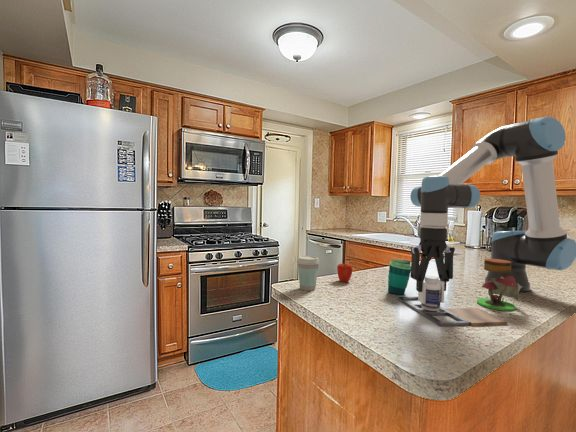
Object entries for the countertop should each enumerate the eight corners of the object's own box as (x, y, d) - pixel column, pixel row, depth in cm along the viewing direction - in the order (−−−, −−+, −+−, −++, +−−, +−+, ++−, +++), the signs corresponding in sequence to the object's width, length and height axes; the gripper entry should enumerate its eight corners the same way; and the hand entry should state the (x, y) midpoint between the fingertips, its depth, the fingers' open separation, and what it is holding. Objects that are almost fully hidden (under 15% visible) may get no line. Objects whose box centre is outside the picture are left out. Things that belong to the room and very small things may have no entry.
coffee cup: (318, 292, 110) (319, 260, 109) (294, 291, 111) (295, 258, 111) (319, 286, 118) (320, 256, 118) (297, 285, 120) (298, 255, 119)
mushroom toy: (505, 314, 92) (508, 265, 91) (467, 301, 103) (469, 258, 103) (529, 310, 96) (532, 263, 96) (490, 298, 108) (492, 256, 107)
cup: (388, 288, 117) (389, 258, 117) (410, 291, 114) (412, 260, 114) (387, 294, 109) (388, 261, 109) (411, 297, 107) (412, 263, 106)
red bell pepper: (352, 280, 129) (353, 262, 129) (351, 283, 123) (351, 265, 123) (337, 278, 131) (338, 261, 131) (335, 282, 125) (336, 264, 125)
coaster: (477, 310, 95) (477, 307, 95) (507, 324, 84) (507, 321, 84) (445, 311, 93) (445, 308, 93) (471, 325, 82) (471, 322, 82)
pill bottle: (442, 312, 90) (443, 279, 90) (423, 310, 91) (424, 278, 91) (437, 306, 96) (438, 275, 95) (419, 304, 97) (420, 274, 96)
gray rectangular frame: (421, 298, 106) (421, 296, 105) (470, 325, 83) (470, 322, 83) (397, 299, 104) (397, 297, 104) (440, 326, 81) (440, 323, 81)
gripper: (452, 226, 97) (449, 296, 99) (399, 225, 95) (396, 298, 96) (469, 228, 90) (466, 304, 91) (412, 227, 87) (409, 306, 88)
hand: (430, 301), depth 93 cm, fingers closed on pill bottle, 5 cm apart
